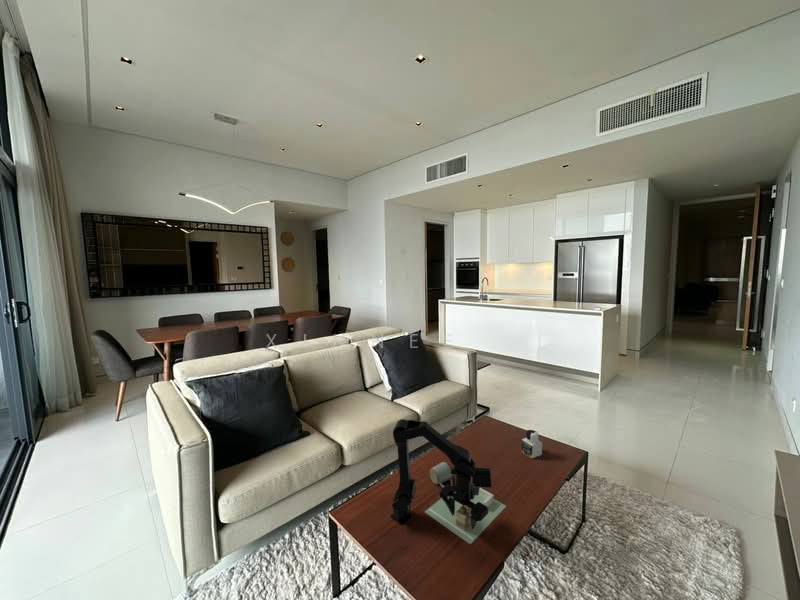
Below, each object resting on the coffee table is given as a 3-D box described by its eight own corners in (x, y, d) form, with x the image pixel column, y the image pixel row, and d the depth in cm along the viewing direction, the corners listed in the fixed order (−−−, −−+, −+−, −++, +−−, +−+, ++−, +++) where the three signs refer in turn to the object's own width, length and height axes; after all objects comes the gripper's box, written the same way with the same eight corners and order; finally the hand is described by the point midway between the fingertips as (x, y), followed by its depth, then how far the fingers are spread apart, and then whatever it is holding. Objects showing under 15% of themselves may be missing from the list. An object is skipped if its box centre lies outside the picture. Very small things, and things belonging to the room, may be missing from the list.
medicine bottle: (521, 451, 174) (521, 430, 172) (531, 448, 177) (531, 427, 175) (531, 458, 167) (532, 436, 166) (542, 455, 170) (542, 433, 169)
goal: (485, 509, 133) (485, 503, 133) (460, 495, 142) (460, 489, 141) (493, 501, 138) (493, 495, 137) (469, 488, 146) (469, 481, 146)
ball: (467, 512, 132) (467, 504, 132) (460, 508, 134) (460, 500, 134) (472, 508, 134) (472, 500, 134) (465, 503, 137) (465, 496, 136)
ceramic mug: (428, 479, 153) (428, 464, 152) (441, 473, 158) (441, 458, 157) (443, 493, 144) (443, 477, 143) (456, 486, 149) (457, 470, 148)
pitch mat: (470, 545, 117) (470, 544, 117) (424, 512, 133) (424, 511, 133) (506, 506, 135) (506, 505, 135) (461, 482, 151) (461, 481, 151)
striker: (464, 530, 123) (464, 512, 122) (455, 524, 126) (455, 506, 125) (470, 524, 126) (470, 506, 125) (461, 519, 129) (461, 501, 128)
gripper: (496, 485, 123) (495, 523, 125) (455, 464, 136) (455, 498, 138) (479, 500, 115) (479, 540, 117) (438, 476, 129) (439, 513, 130)
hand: (463, 521), depth 126 cm, fingers open, 9 cm apart
